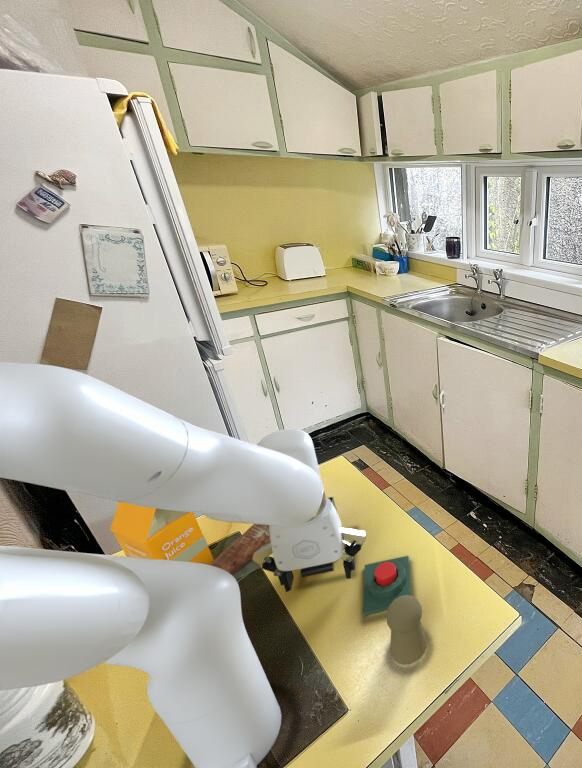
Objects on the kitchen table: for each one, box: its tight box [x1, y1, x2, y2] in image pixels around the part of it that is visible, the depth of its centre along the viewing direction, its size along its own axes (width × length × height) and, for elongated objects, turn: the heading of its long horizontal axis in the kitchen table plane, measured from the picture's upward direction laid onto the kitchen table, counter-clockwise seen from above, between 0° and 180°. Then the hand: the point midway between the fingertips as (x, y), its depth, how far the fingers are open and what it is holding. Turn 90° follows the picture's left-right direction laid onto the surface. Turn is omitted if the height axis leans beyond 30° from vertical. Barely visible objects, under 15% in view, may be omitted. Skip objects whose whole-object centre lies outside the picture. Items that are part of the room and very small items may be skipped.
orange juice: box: [109, 501, 215, 565], centre depth 72 cm, size 8×9×20 cm
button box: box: [362, 555, 413, 617], centre depth 74 cm, size 10×8×4 cm
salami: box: [210, 524, 271, 577], centre depth 79 cm, size 6×19×6 cm, turn 156°
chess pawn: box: [385, 595, 428, 666], centre depth 63 cm, size 6×6×11 cm
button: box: [375, 562, 397, 586], centre depth 73 cm, size 4×4×2 cm
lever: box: [300, 562, 335, 578], centre depth 74 cm, size 12×5×2 cm, turn 17°
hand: (320, 578), depth 72 cm, fingers open, 9 cm apart
